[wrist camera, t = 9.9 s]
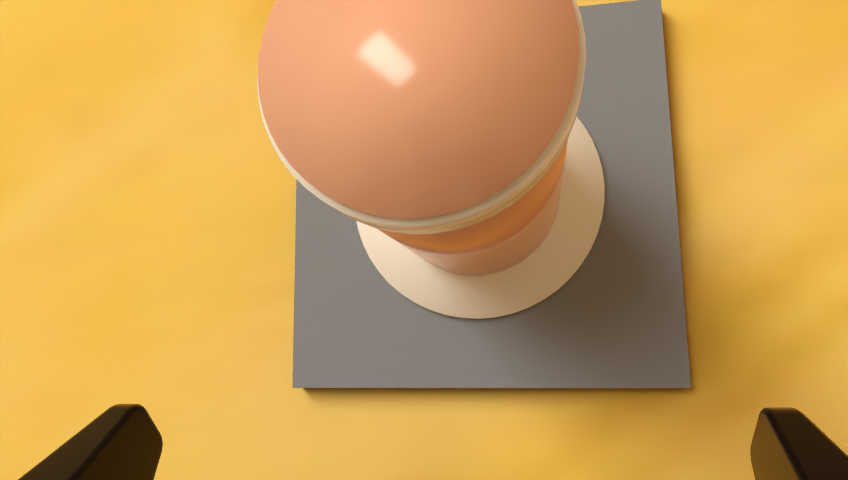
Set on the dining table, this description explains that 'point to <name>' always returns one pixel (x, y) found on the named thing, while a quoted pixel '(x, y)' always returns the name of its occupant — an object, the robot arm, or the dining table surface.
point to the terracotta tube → (428, 117)
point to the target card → (533, 277)
